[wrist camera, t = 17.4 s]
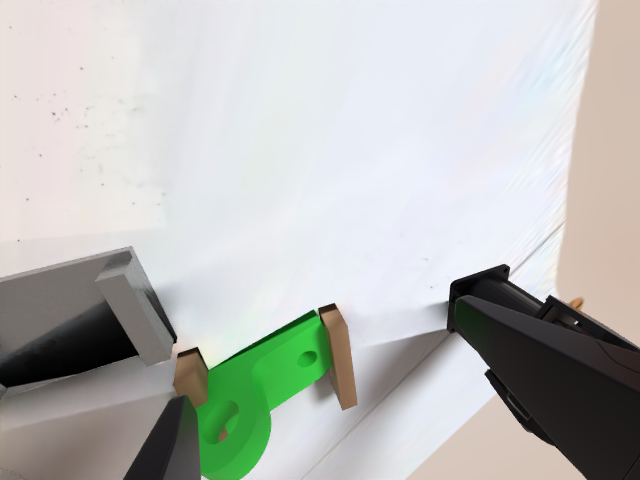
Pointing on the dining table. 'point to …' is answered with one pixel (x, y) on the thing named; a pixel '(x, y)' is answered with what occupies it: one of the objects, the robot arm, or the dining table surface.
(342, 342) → the beam rails
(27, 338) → the u-shaped bracket
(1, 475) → the cup
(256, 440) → the mechanical part
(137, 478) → the robot arm
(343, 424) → the dining table surface
